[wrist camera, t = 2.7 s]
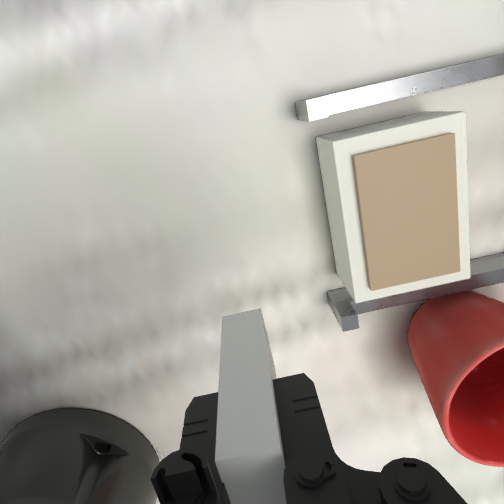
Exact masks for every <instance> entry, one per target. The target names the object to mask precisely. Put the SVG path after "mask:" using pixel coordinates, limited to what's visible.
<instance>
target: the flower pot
mask: <svg viewBox="0 0 504 504" xmlns="http://www.w3.org/2000/svg"><path fill="white" fill-rule="evenodd" d="M407 338H408V345H409V348H410V351H411V353H412V356H413V359H414V362H415V364H416V367H417V370H418V372H419V375H420V378H421V380H422V383H423V385H424V388H425V390H426V393H427V395H428V398H429V400H430V403H431V405H432V408H433V410H434V413H435V415H436V417H437V420H438V422H439V424H440V427H441V429H442V431H443V433H444V435H445V437H446V439H447V441H448V442H449V443H450V445H451V446H452V447H453V448H454V449H455V450H456V451H457V452H458V453H460V454H461V455H463V456H464V457H466V458H468V459H469V460H472V461H474V462H477V463H480V464H483V465H488V466H495V467H504V303H503V302H500V301H497V300H495V299H492V298H489V297H486V296H484V295H481V294H478V293H476V292H473V291H469V290H466V291H462V292H457V293H452V294H448V295H443V296H439V297H434V298H430V299H429V300H427V301H426V302H425V303H424V304H423V305H422V306H421V307H420V308H419V309H418V310H417V312H416V314H415V315H414V316H413V318H412V320H411V322H410V324H409V328H408V335H407Z"/></svg>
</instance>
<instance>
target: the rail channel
mask: <svg viewBox="0 0 504 504" xmlns="http://www.w3.org/2000/svg"><path fill="white" fill-rule="evenodd" d="M503 74H504V54H500V55H496V56H492V57H487V58H483V59H479V60H475V61H470V62H466V63H462V64H457V65H453V66H449V67H444V68H440V69H436V70H432V71H427V72H423V73H419V74H414V75H410V76H406V77H401V78H397V79H393V80H389V81H384V82H380V83H376V84H371V85H367V86H363V87H358V88H354V89H350V90H346V91H341V92H337V93H333V94H328V95H324V96H320V97H315V98H311V99H307V100H303V101H298V102H295V106H296V112H297V118H298V120H303V121H313V120H317V119H321V118H326V117H329V115H331V114H335V113H339V112H344V111H348V110H352V109H356V108H361V107H365V106H369V105H374V104H378V103H382V102H387V101H391V100H395V99H400V98H404V97H408V96H413V95H417V94H421V93H426V92H430V91H434V90H439V89H443V88H447V87H452V86H456V85H460V84H465V83H469V82H473V81H477V80H482V79H486V78H490V77H495V76H499V75H503ZM470 277H471V278H469V279H465V280H460V281H455V282H451V283H446V284H442V285H437V286H433V287H428V288H423V289H419V290H414V291H410V292H405V293H401V294H396V295H391V296H387V297H382V298H378V299H373V300H369V301H364V302H360V303H355V301H354V300H353V298H352V297H351V295H350V294H349V292H348V291H347V289H346V288H340V289H336V290H331V291H327V295H328V301H329V305H330V307H331V309H332V311H333V313H334V315H335V317H336V319H337V321H338V323H339V325H340V327H341V328H342V330H343V332H344V331H348V330H353V329H357V328H359V323H358V316H357V314H361V313H365V312H370V311H375V310H379V309H384V308H388V307H393V306H397V305H402V304H407V303H411V302H416V301H420V300H425V299H430V298H434V297H439V296H443V295H448V294H452V293H457V292H462V291H466V290H471V289H475V288H480V287H484V286H489V285H494V284H498V283H503V282H504V253H499V254H495V255H490V256H486V257H481V258H477V259H472V260H470Z"/></svg>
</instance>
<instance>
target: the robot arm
mask: <svg viewBox="0 0 504 504" xmlns="http://www.w3.org/2000/svg"><path fill="white" fill-rule="evenodd" d="M157 497H158V499H159V501H160V504H467V503H466V502H465V501H464V499H463V498H462V497H461V496H460V495H459V494H458V493H457V492H456V491H455V489H454V488H453V487H452V486H451V485H450V484H449V483H448V482H447V480H446V479H445V478H444V477H443V476H442V475H441V474H440V473H439V472H438V471H437V470H436V469H435V468H433V467H432V466H431V465H430V464H428V463H426V462H423V461H421V460H418V459H415V458H400V459H396V460H392V461H391V462H389V463H388V464H387V465H385V466H384V467H383V469H382V471H381V472H373V471H364V470H359V469H355V468H353V467H351V466H349V465H347V464H346V463H344V462H343V461H341V460H340V458H339V457H338V456H337V455H336V453H335V451H334V449H333V447H332V443H331V440H330V436H329V433H328V430H327V426H326V423H325V420H324V416H323V413H322V409H321V406H320V403H319V399H318V396H317V393H316V389H315V386H314V382H312V381H311V380H310V379H309V378H308V377H307V376H306V375H305V374H304V373H302V374H297V375H292V376H287V377H283V378H278V379H277V378H276V372H275V366H274V362H273V358H272V353H271V349H270V345H269V341H268V337H267V332H266V328H265V324H264V320H263V315H262V311H261V308H260V309H256V310H251V311H247V312H242V313H237V314H233V315H228V316H224V317H222V334H221V353H220V373H219V392H217V393H212V394H207V395H203V396H198V397H194V398H193V400H192V401H191V403H190V405H189V406H188V408H187V409H186V412H185V419H184V427H183V431H182V438H181V444H180V450H178V451H175V452H173V453H171V454H170V455H168V456H167V457H165V458H164V459H162V460H161V462H160V463H159V460H158V457H157V455H156V453H155V451H154V449H153V447H152V446H151V444H150V443H149V442H148V441H147V439H146V438H145V437H144V436H143V435H142V434H141V433H140V432H138V431H137V430H136V429H135V428H133V427H132V426H130V425H129V424H127V423H126V422H124V421H122V420H120V419H118V418H115V417H113V416H110V415H108V414H105V413H101V412H97V411H92V410H86V409H58V410H52V411H47V412H43V413H40V414H37V415H35V416H32V417H30V418H28V419H26V420H25V421H23V422H21V423H20V424H18V425H17V426H16V427H15V428H13V429H12V430H11V431H10V432H9V434H8V435H7V436H6V437H5V439H4V440H3V442H2V443H1V445H0V504H155V503H156V499H157Z"/></svg>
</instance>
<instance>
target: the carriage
mask: <svg viewBox="0 0 504 504" xmlns="http://www.w3.org/2000/svg"><path fill="white" fill-rule="evenodd" d="M316 143H317V149H318V156H319V162H320V168H321V175H322V181H323V187H324V194H325V200H326V207H327V213H328V219H329V226H330V232H331V239H332V245H333V251H334V258H335V264H336V270H337V276H338V277H339V279H340V280H341V282H342V283H343V285H344V286H345V288H346V289H347V291H348V292H349V294H350V295H351V297H352V298H353V300H354V301H355V303H360V302H364V301H369V300H373V299H378V298H382V297H387V296H391V295H396V294H401V293H405V292H410V291H414V290H419V289H423V288H428V287H433V286H437V285H442V284H446V283H451V282H455V281H460V280H465V279H469V278H471V277H470V244H469V210H468V176H467V142H466V111H456V112H422V113H418V114H414V115H409V116H405V117H400V118H396V119H392V120H387V121H383V122H379V123H374V124H370V125H366V126H361V127H357V128H353V129H348V130H344V131H340V132H335V133H331V134H327V135H322V136H318V137H316Z"/></svg>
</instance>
